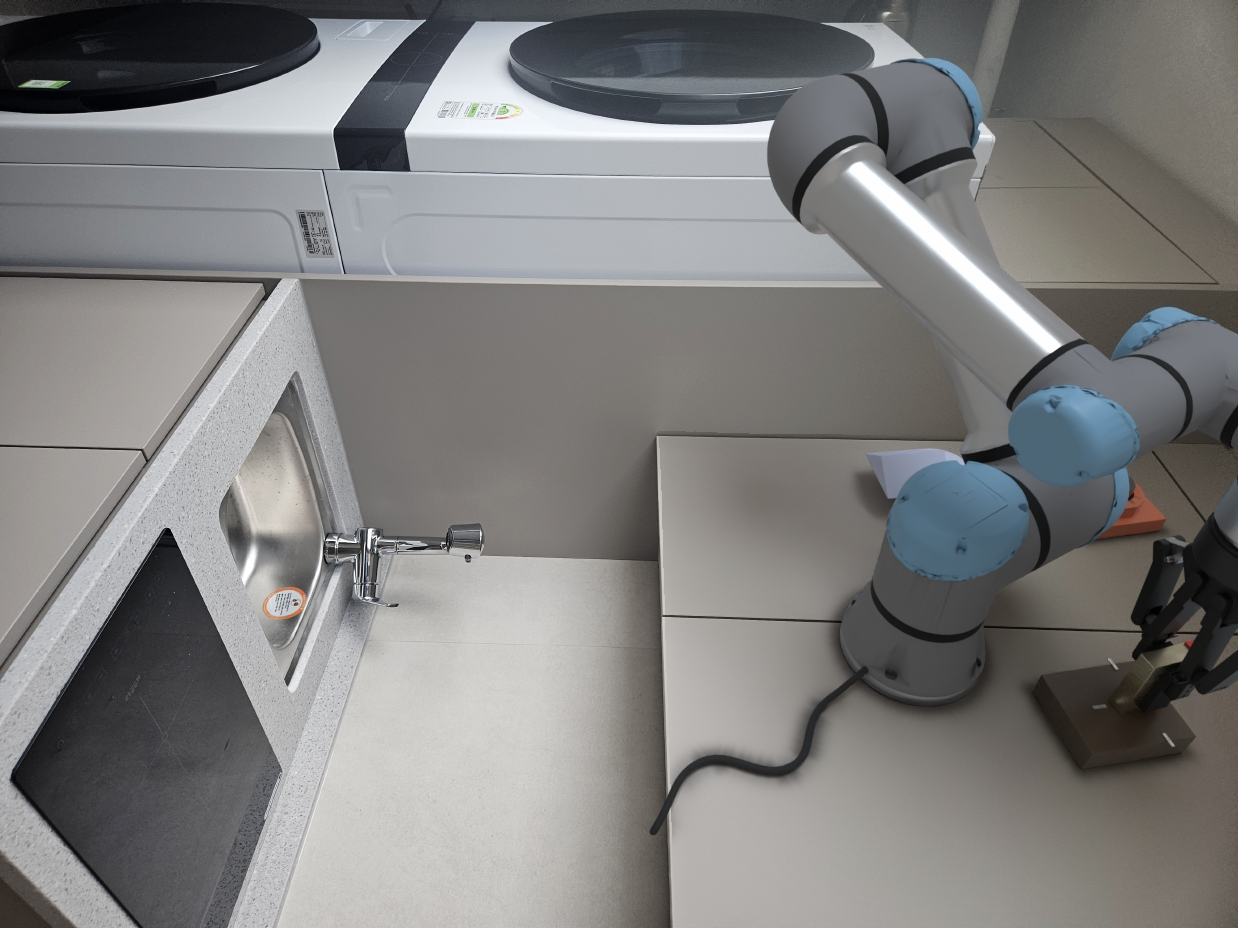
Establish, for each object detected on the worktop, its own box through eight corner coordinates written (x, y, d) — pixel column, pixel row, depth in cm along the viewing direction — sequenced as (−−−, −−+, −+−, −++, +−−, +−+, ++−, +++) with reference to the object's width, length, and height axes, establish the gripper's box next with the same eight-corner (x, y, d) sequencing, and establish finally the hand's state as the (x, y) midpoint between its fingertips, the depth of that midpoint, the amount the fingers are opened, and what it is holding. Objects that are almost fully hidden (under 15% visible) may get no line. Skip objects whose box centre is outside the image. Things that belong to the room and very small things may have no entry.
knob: (1120, 715, 80) (1155, 667, 75) (1107, 700, 81) (1141, 651, 76) (1170, 701, 81) (1209, 652, 76) (1157, 686, 82) (1194, 637, 77)
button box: (1087, 540, 102) (1099, 518, 99) (1048, 492, 109) (1058, 470, 106) (1159, 530, 103) (1173, 508, 100) (1116, 483, 110) (1128, 461, 107)
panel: (1084, 775, 79) (1096, 758, 77) (1028, 685, 86) (1038, 668, 84) (1206, 754, 80) (1221, 738, 78) (1141, 668, 88) (1153, 651, 86)
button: (1108, 503, 102) (1113, 493, 100) (1089, 482, 105) (1094, 472, 103) (1137, 500, 102) (1143, 489, 101) (1117, 479, 105) (1123, 469, 104)
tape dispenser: (882, 517, 106) (978, 508, 106) (893, 479, 101) (993, 471, 102) (860, 471, 112) (950, 464, 113) (869, 434, 108) (963, 426, 109)
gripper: (1388, 592, 60) (1234, 752, 76) (1227, 466, 71) (1121, 629, 87) (1308, 614, 59) (1168, 773, 75) (1156, 482, 70) (1061, 645, 85)
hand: (1143, 695), depth 81 cm, fingers closed on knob, 2 cm apart
